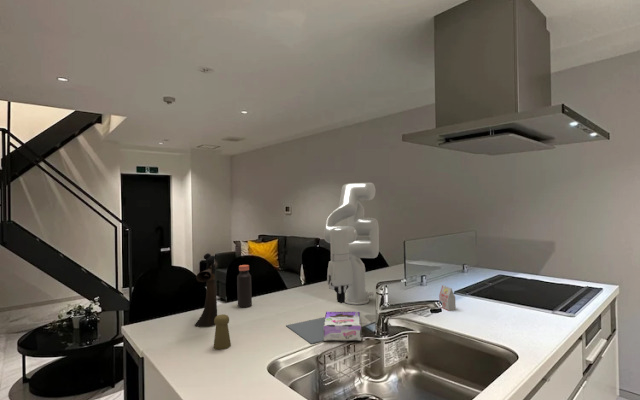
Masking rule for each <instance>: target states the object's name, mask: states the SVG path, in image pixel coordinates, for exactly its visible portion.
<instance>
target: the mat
mask: <svg viewBox="0 0 640 400" xmlns="http://www.w3.org/2000/svg"><path fill="white" fill-rule="evenodd" d="M324 320H325V316H324V317H319V318H314V319H310V320H305V321H300V322H295V323H290V324H286V325H285V327H286V328H288V329H289V330H290V331H292V332H293V333H295V335H298V336H299V337H300V338H302V339H303V340H304V341H306V342H307V343H308V344H310V345H314V344H318V343H321V342H327V341H328V340H326V341H324Z"/></svg>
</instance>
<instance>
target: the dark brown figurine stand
mask: <svg viewBox="0 0 640 400" xmlns="http://www.w3.org/2000/svg"><path fill="white" fill-rule="evenodd" d="M203 259H204V260H205V261H206V267H205V270H203V271H200V272H199V273H197V275H196V277H195V279H196V281H197V282H199V283H205V282H206V283H205V284H206V293H205V301H204V308H203V311H202V313H201V315H200V317H199V318H198V320H197V321H196V322H195V323H194V326H195V327H197V326H198V328H200V327H201V328H203V327H204V328H206V327H213V326H216V325H215V323H214V319H215V317H216V316H218V304H217V303H218V301H217V289H216V287H217V286H216V268H217V267H218V261H216V256H215V255H211V253H209V252H208V253H205V254H204V255H203Z"/></svg>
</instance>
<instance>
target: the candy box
mask: <svg viewBox="0 0 640 400" xmlns="http://www.w3.org/2000/svg"><path fill="white" fill-rule="evenodd" d="M324 318H325V320H324V341H323V342H327V341H362V321H361V312H360V311H325V316H324ZM326 340H327V341H326Z"/></svg>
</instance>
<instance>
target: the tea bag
mask: <svg viewBox="0 0 640 400" xmlns="http://www.w3.org/2000/svg"><path fill="white" fill-rule="evenodd" d="M438 297H439V298H438V299H439V302H440V301H441V302H442V307H440V308H441V309H444V310H445V311H448V312H452V311H456V305H457V304H456V296H455V294H454V290H453V289H452V288H451V287H448V286H447V285H441V289H440V292H439V295H438Z"/></svg>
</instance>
